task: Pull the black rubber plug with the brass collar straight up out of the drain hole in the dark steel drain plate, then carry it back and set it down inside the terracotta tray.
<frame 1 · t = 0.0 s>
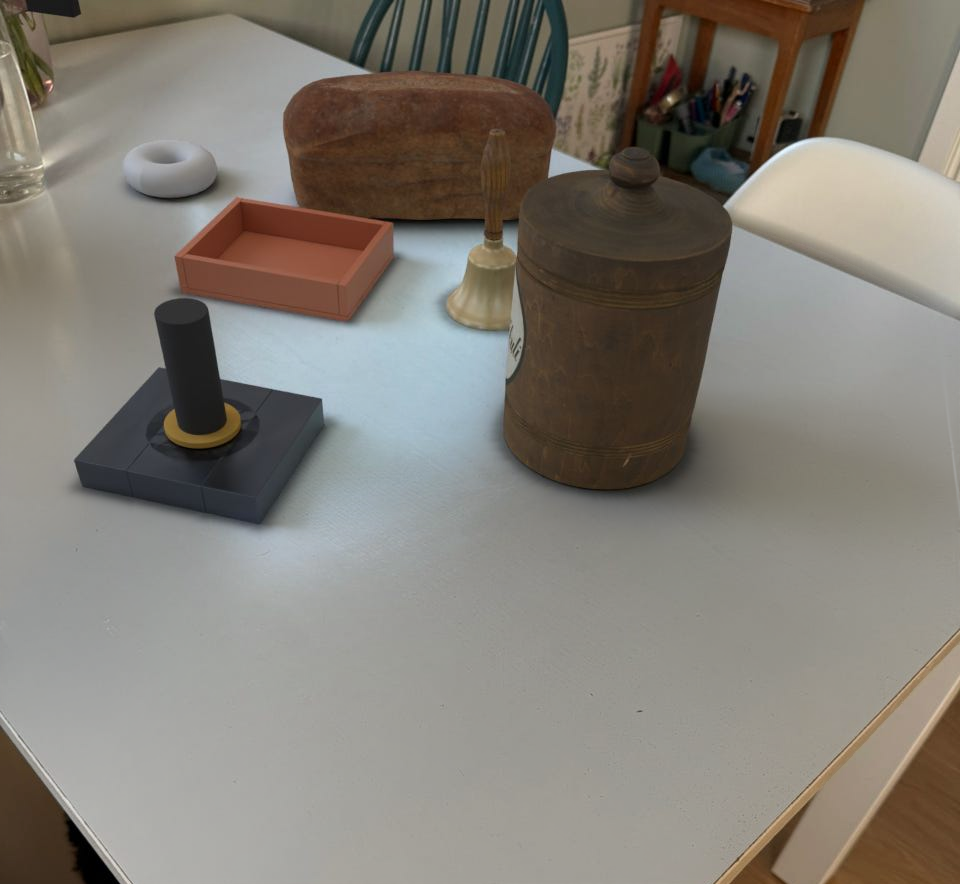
drain plate: (208, 454, 76), on the table
hand bell: (489, 311, 93), on the table
plug: (195, 387, 71), in the hole of the drain plate
wooden container: (592, 437, 80), on the table
donut: (173, 185, 109), on the table
terracotta tray: (291, 274, 96), on the table
bread: (420, 205, 108), on the table
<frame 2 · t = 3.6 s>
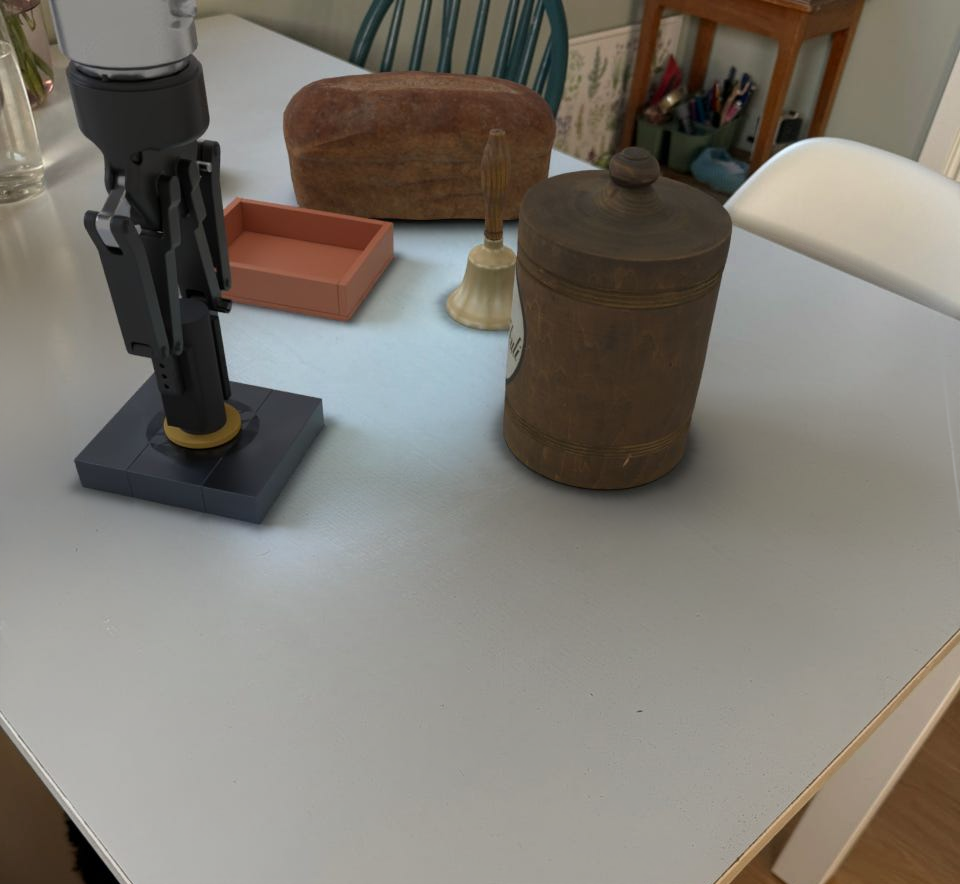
hand: (200, 409, 73), 4 cm above the table, tool pointing down, fingers closed on plug, 4 cm apart
plug: (195, 387, 71), in the hole of the drain plate, touching gripper
everything else where it was.
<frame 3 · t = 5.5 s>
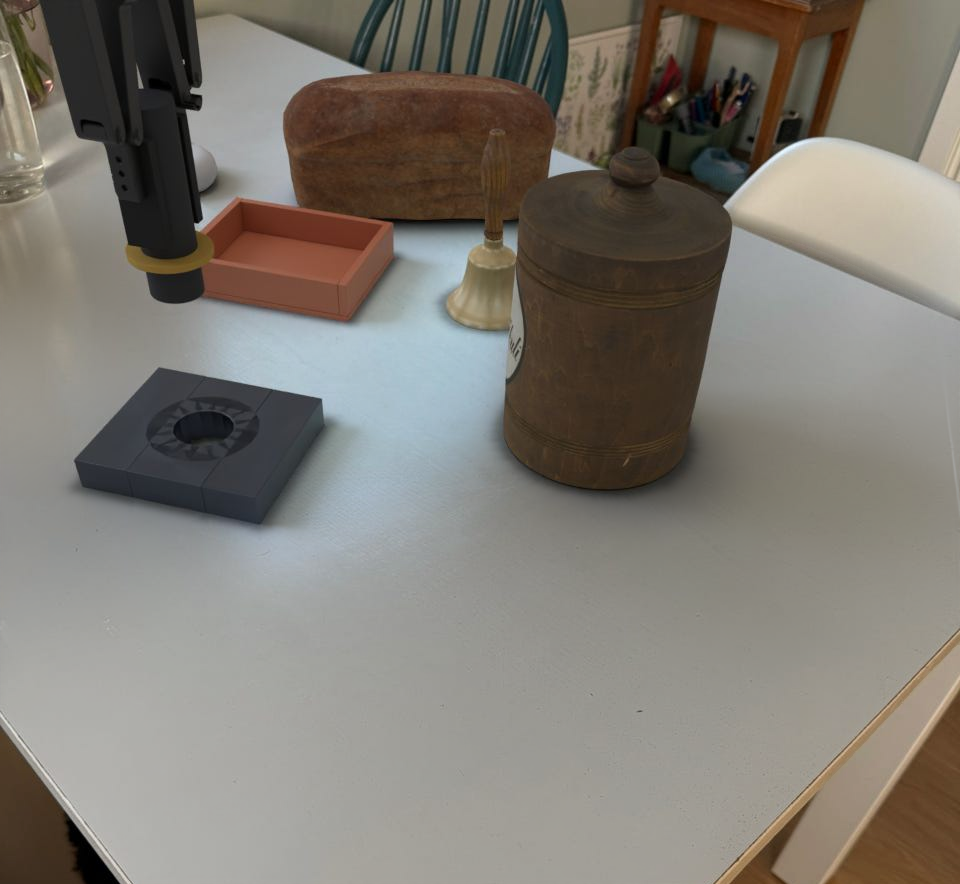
hand: (166, 231, 63), 17 cm above the table, tool pointing down, fingers closed on plug, 4 cm apart
plug: (161, 201, 62), point 19 cm above the table, touching gripper
everything else where it was.
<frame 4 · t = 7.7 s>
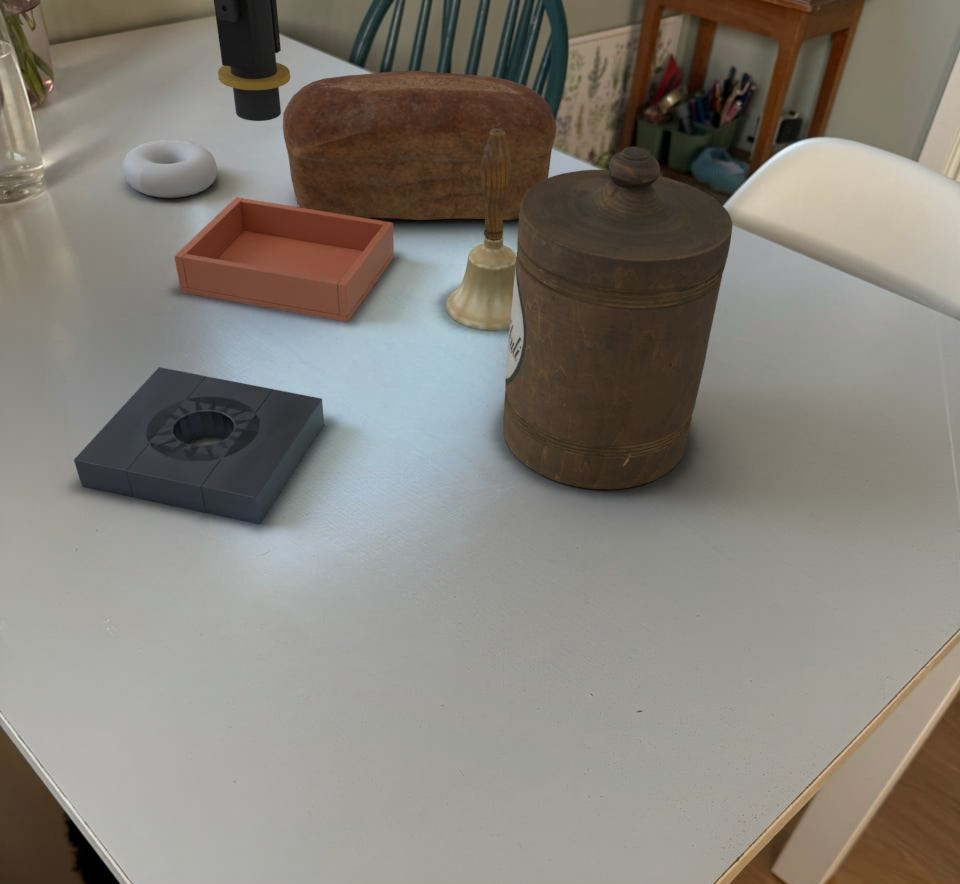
hand: (252, 57, 77), 21 cm above the table, tool pointing down, fingers closed on plug, 4 cm apart
plug: (249, 29, 75), point 22 cm above the table, touching gripper
everything else where it was.
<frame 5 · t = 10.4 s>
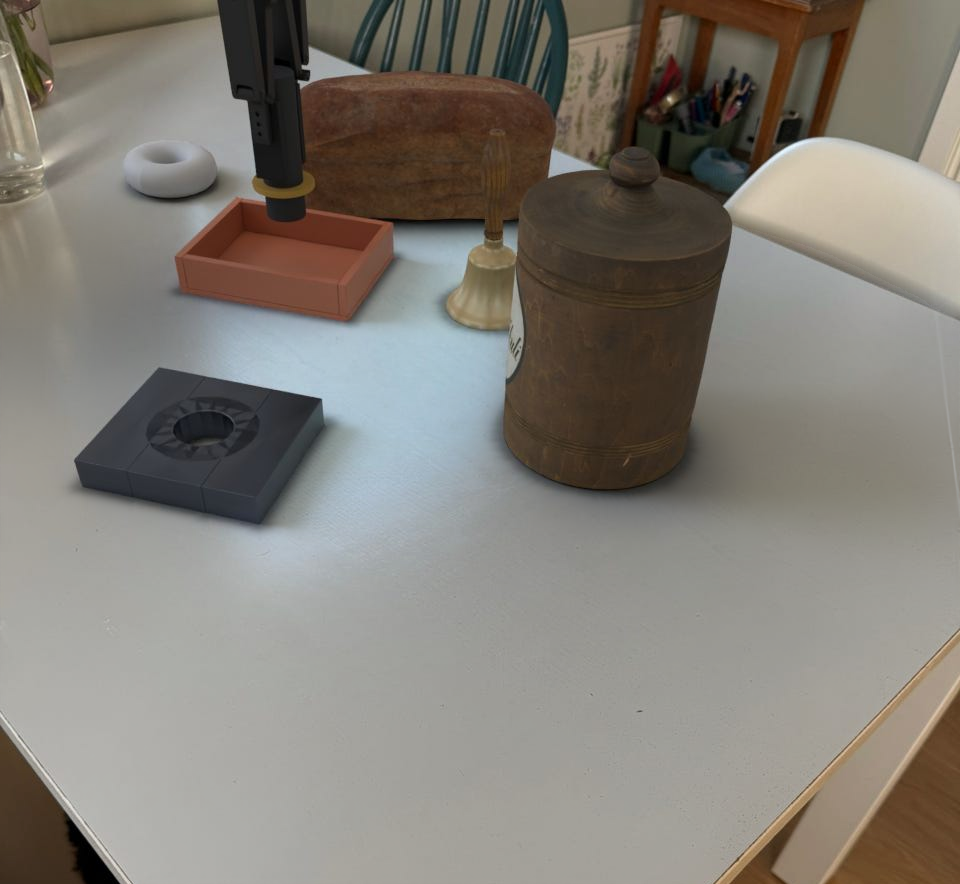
hand: (281, 168, 88), 10 cm above the table, tool pointing down, fingers closed on plug, 4 cm apart
plug: (279, 146, 87), point 12 cm above the table, touching gripper
everything else where it was.
when the fingers open (5 cm above the table, at t = 11.9 s): plug stays where it is, resting on terracotta tray.
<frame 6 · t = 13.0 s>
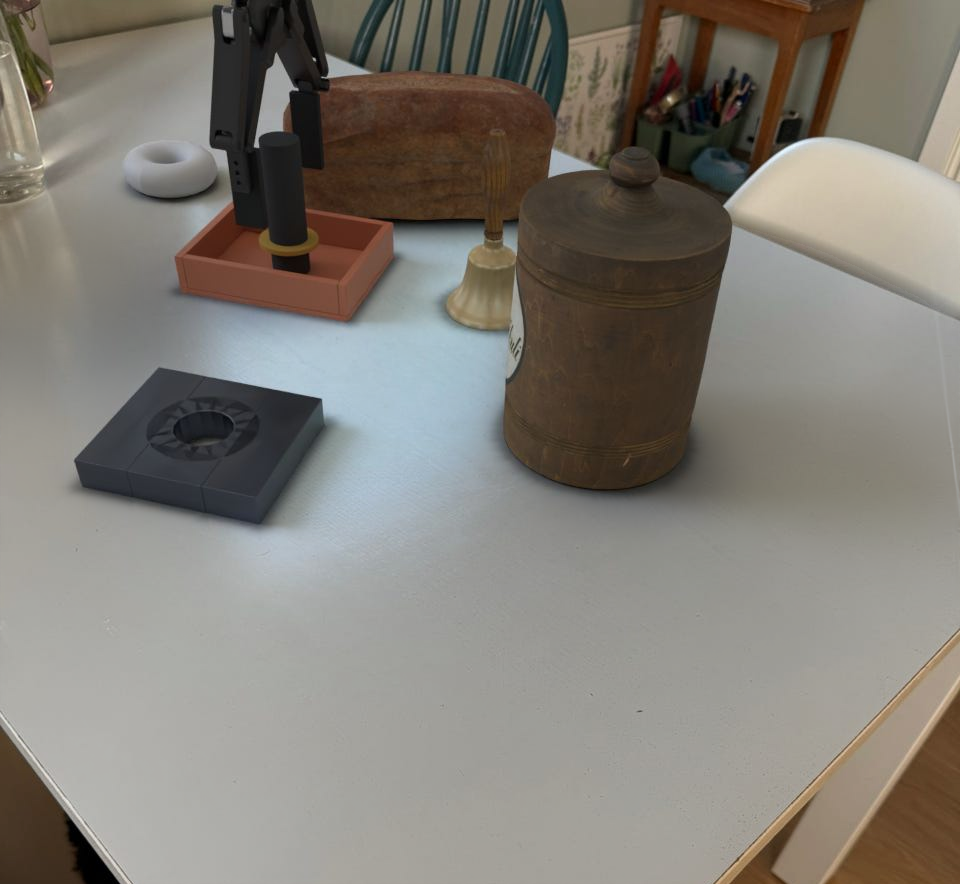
hand: (282, 195, 90), 8 cm above the table, tool pointing down, fingers open, 13 cm apart
plug: (285, 206, 91), in the terracotta tray, point 7 cm above the table
everything else where it was.
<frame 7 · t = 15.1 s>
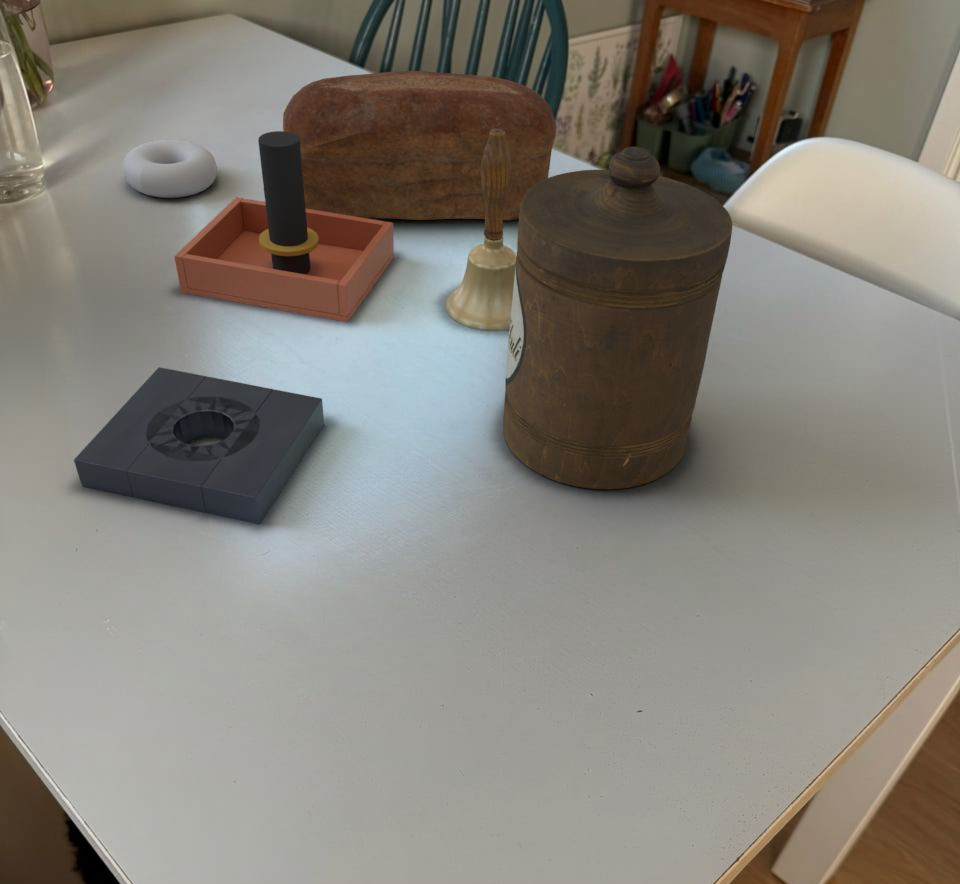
nothing on the table moved.
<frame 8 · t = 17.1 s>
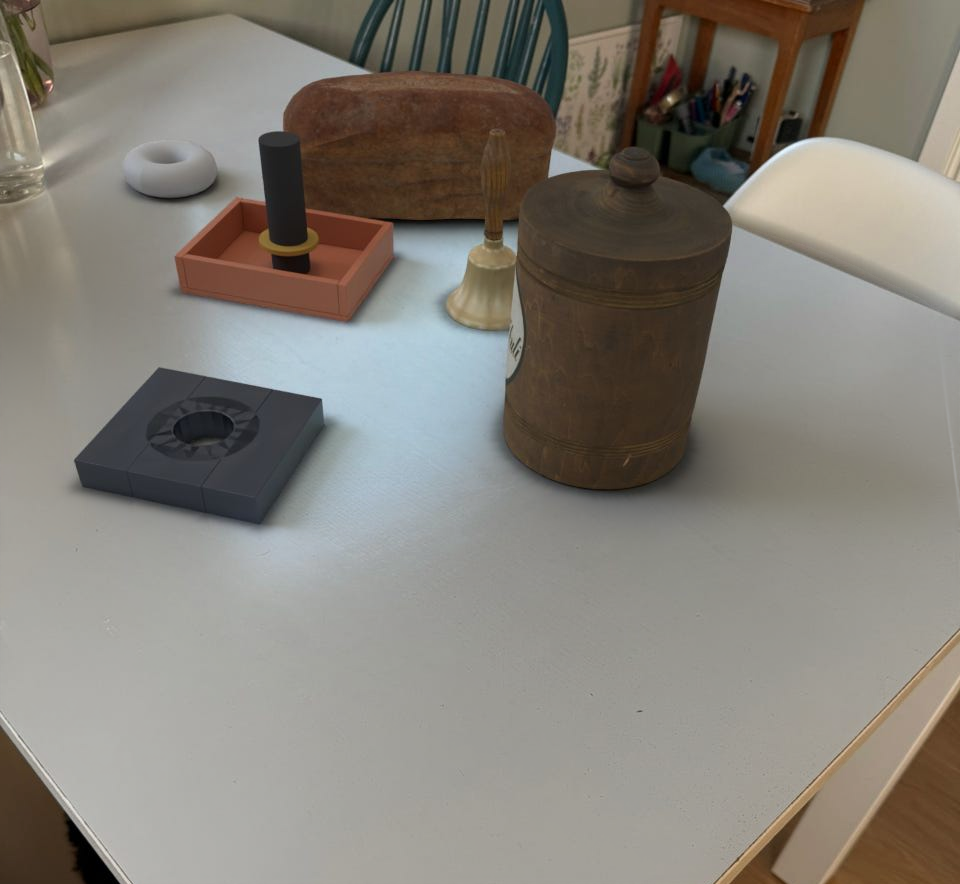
nothing on the table moved.
at the end: plug inside the target area in the terracotta tray (0.1 cm from its centre), point 6.6 cm above the terracotta tray's base; the gripper is holding nothing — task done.
